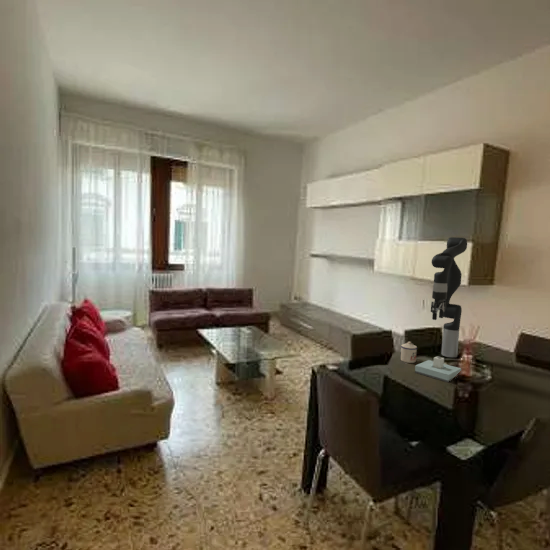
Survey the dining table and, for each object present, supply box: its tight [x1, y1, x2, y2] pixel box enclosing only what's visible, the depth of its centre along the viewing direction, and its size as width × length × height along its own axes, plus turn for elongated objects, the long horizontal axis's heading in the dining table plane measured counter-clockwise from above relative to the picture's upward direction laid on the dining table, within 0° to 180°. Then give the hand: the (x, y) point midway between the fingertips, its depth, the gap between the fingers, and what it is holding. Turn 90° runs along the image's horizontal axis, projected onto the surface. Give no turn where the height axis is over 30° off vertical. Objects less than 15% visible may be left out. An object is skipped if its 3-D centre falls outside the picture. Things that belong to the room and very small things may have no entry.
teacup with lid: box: [400, 341, 418, 364], centre depth 226 cm, size 12×9×12 cm
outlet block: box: [414, 359, 462, 383], centre depth 203 cm, size 16×18×4 cm
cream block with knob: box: [432, 356, 445, 370], centre depth 203 cm, size 4×4×9 cm
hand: (437, 318), depth 213 cm, fingers open, 8 cm apart
